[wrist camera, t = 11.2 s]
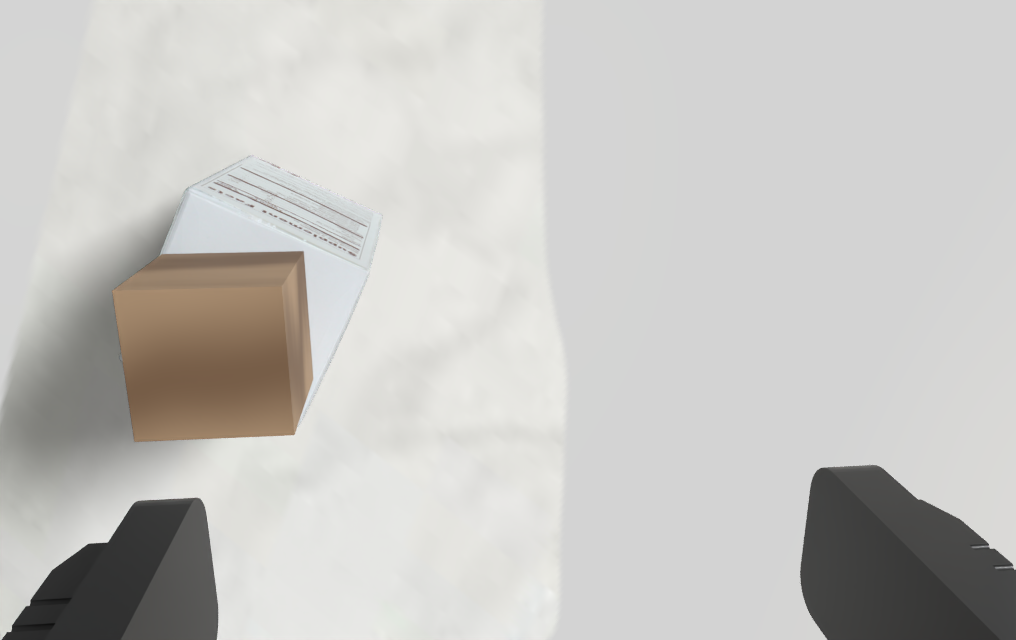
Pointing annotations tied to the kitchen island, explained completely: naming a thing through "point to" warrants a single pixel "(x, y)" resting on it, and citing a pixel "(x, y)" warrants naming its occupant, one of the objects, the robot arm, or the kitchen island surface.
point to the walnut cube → (215, 345)
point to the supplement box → (285, 239)
